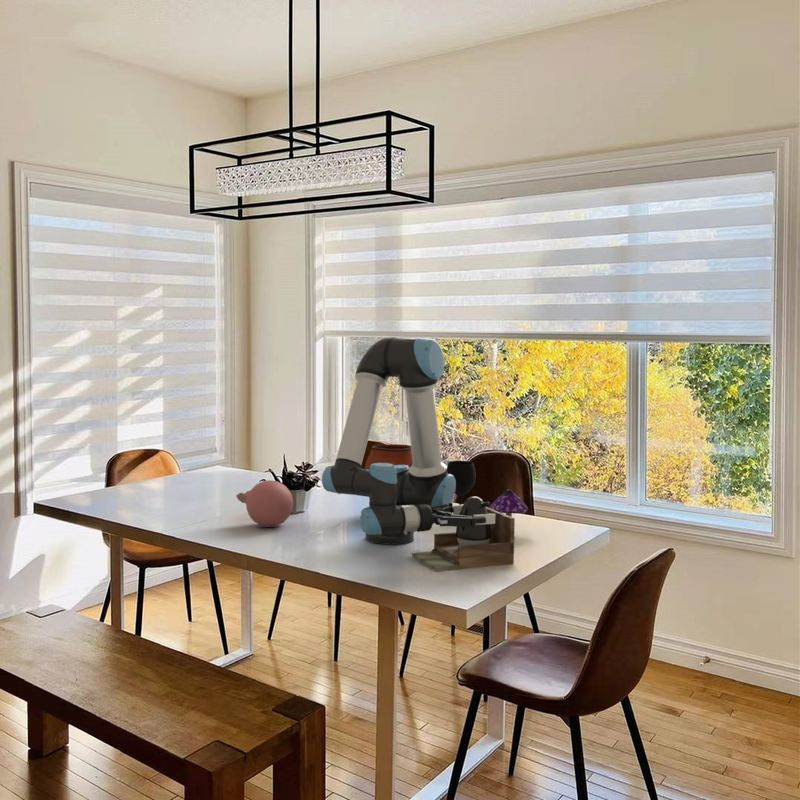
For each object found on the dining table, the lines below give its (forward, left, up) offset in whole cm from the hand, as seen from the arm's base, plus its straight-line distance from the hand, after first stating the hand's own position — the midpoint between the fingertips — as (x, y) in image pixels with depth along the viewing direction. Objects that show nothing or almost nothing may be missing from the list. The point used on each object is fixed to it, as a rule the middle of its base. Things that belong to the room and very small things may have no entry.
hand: (484, 513), depth 245 cm
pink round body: (-61, -50, -13) cm, 80 cm away
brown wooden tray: (0, -7, -13) cm, 15 cm away
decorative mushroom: (-22, +21, -13) cm, 33 cm away
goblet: (-62, -4, -13) cm, 64 cm away
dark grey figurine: (0, -3, -10) cm, 11 cm away
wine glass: (-49, +17, -13) cm, 54 cm away
